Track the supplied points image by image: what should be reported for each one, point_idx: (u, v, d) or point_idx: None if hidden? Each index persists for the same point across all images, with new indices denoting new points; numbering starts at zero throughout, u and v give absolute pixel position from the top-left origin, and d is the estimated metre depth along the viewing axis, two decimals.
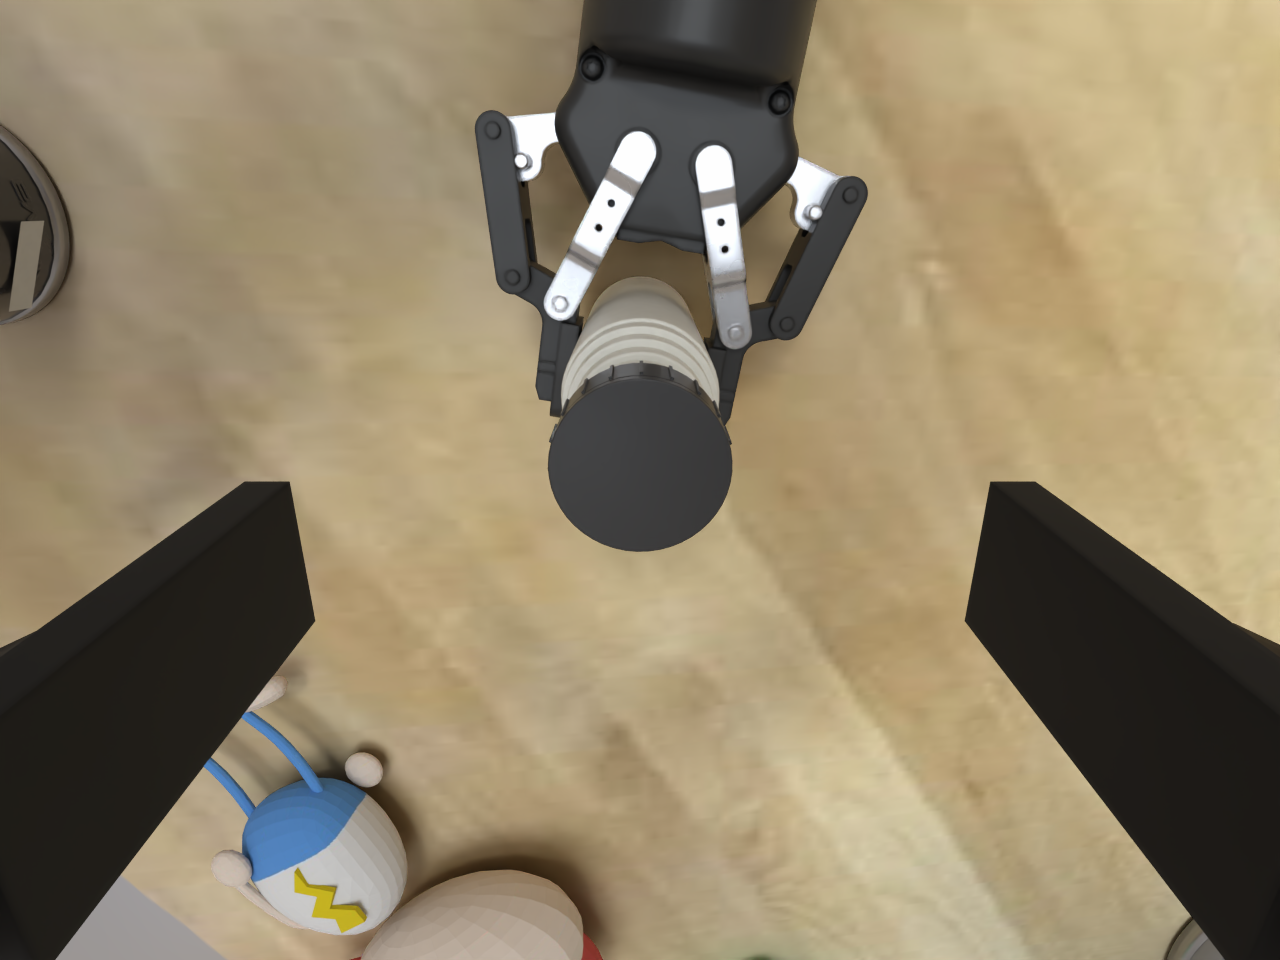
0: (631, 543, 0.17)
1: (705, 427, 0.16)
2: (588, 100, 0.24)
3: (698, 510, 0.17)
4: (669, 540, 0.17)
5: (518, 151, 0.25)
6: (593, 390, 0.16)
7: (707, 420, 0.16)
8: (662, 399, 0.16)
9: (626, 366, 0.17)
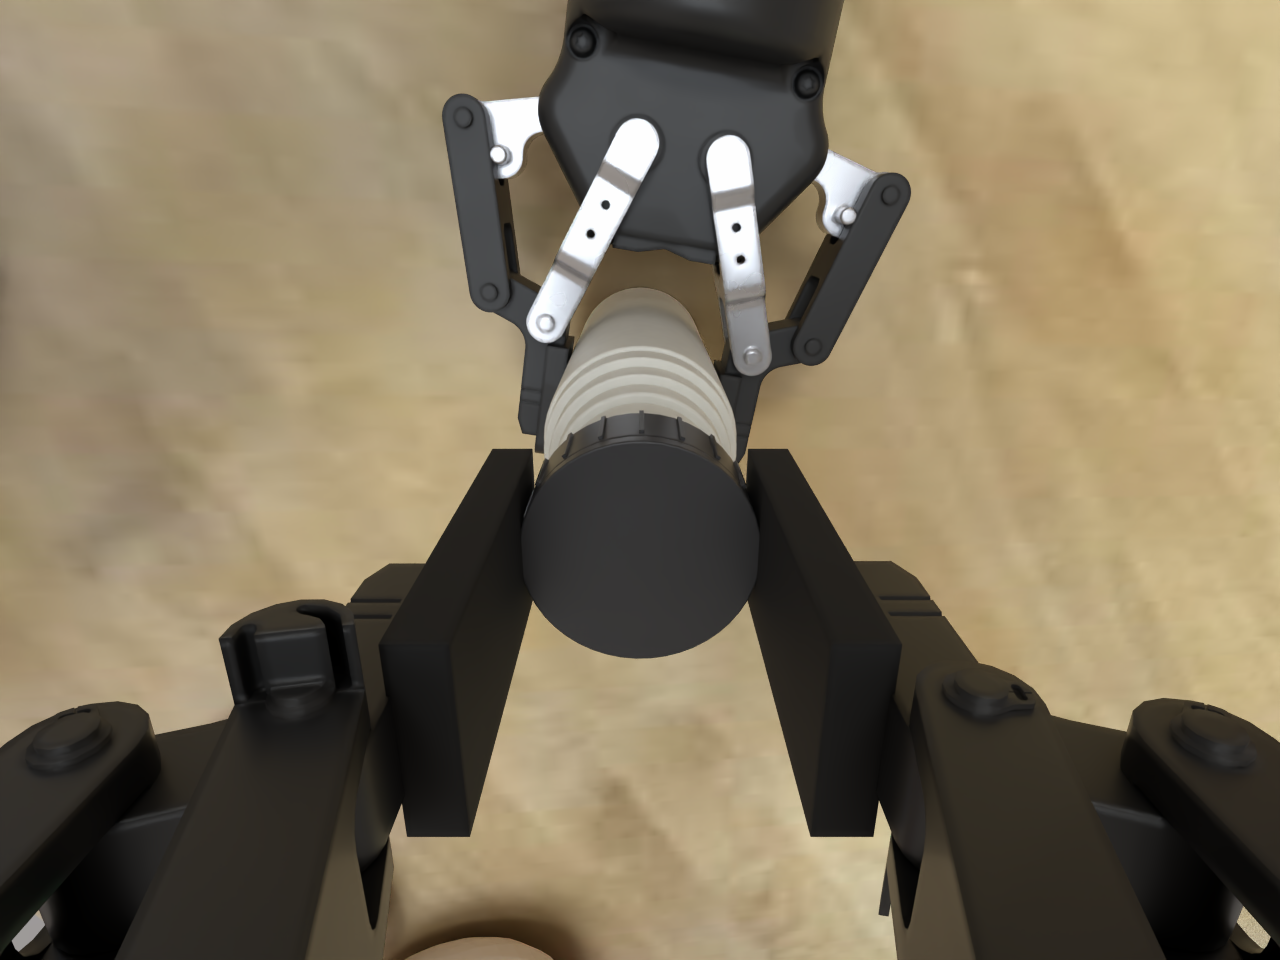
0: (628, 648, 0.13)
1: (726, 503, 0.12)
2: (578, 81, 0.20)
3: (716, 607, 0.13)
4: (678, 645, 0.13)
5: (495, 143, 0.21)
6: (577, 456, 0.12)
7: (729, 494, 0.12)
8: (669, 467, 0.12)
9: (622, 418, 0.13)
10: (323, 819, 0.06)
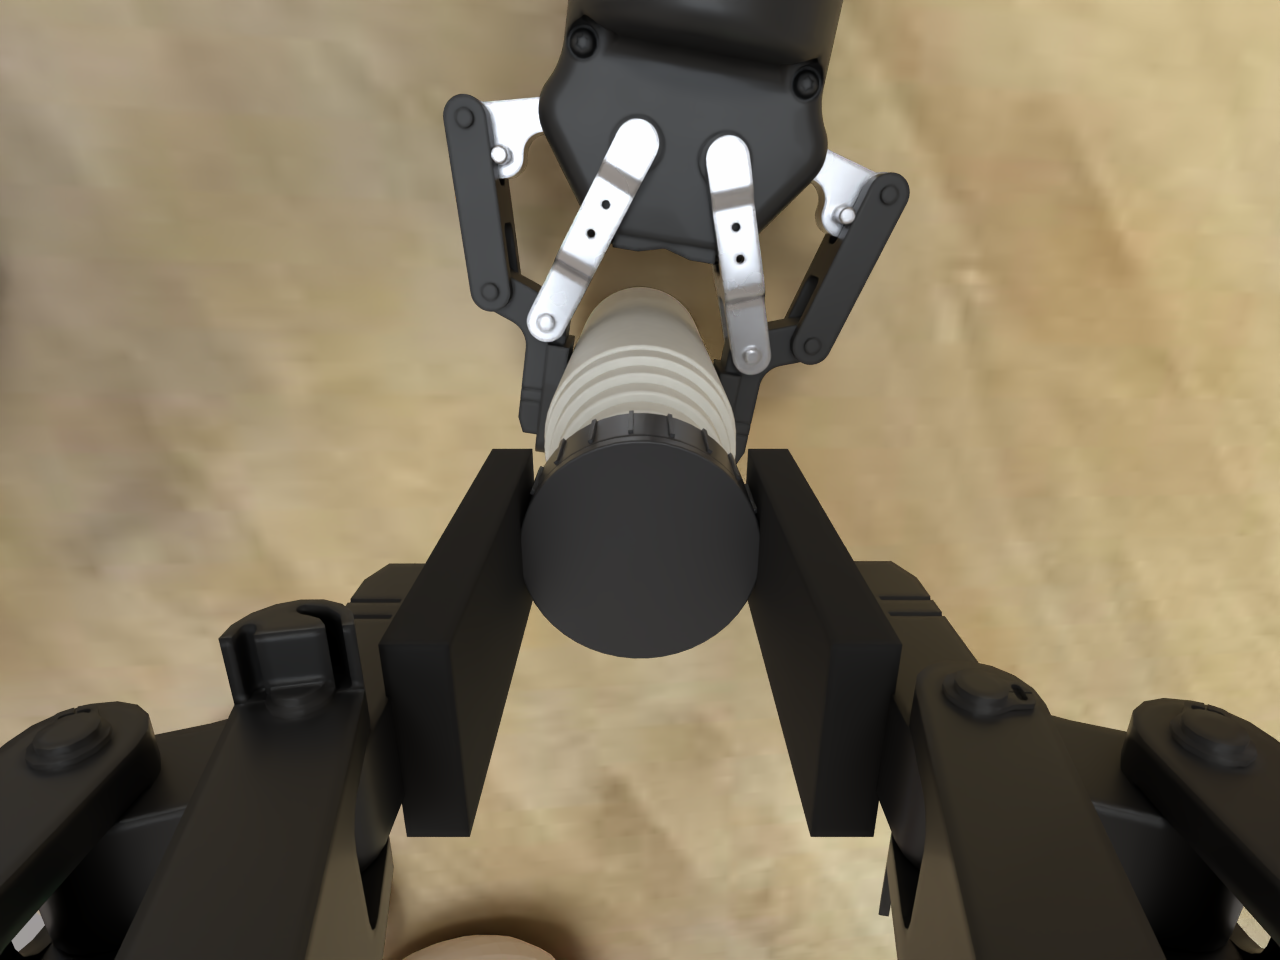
0: (742, 519, 0.12)
1: (547, 514, 0.12)
2: (578, 81, 0.20)
3: (655, 465, 0.12)
4: (715, 477, 0.12)
5: (496, 143, 0.21)
6: (579, 642, 0.13)
7: (537, 516, 0.12)
8: (544, 575, 0.13)
9: None
10: (323, 820, 0.06)
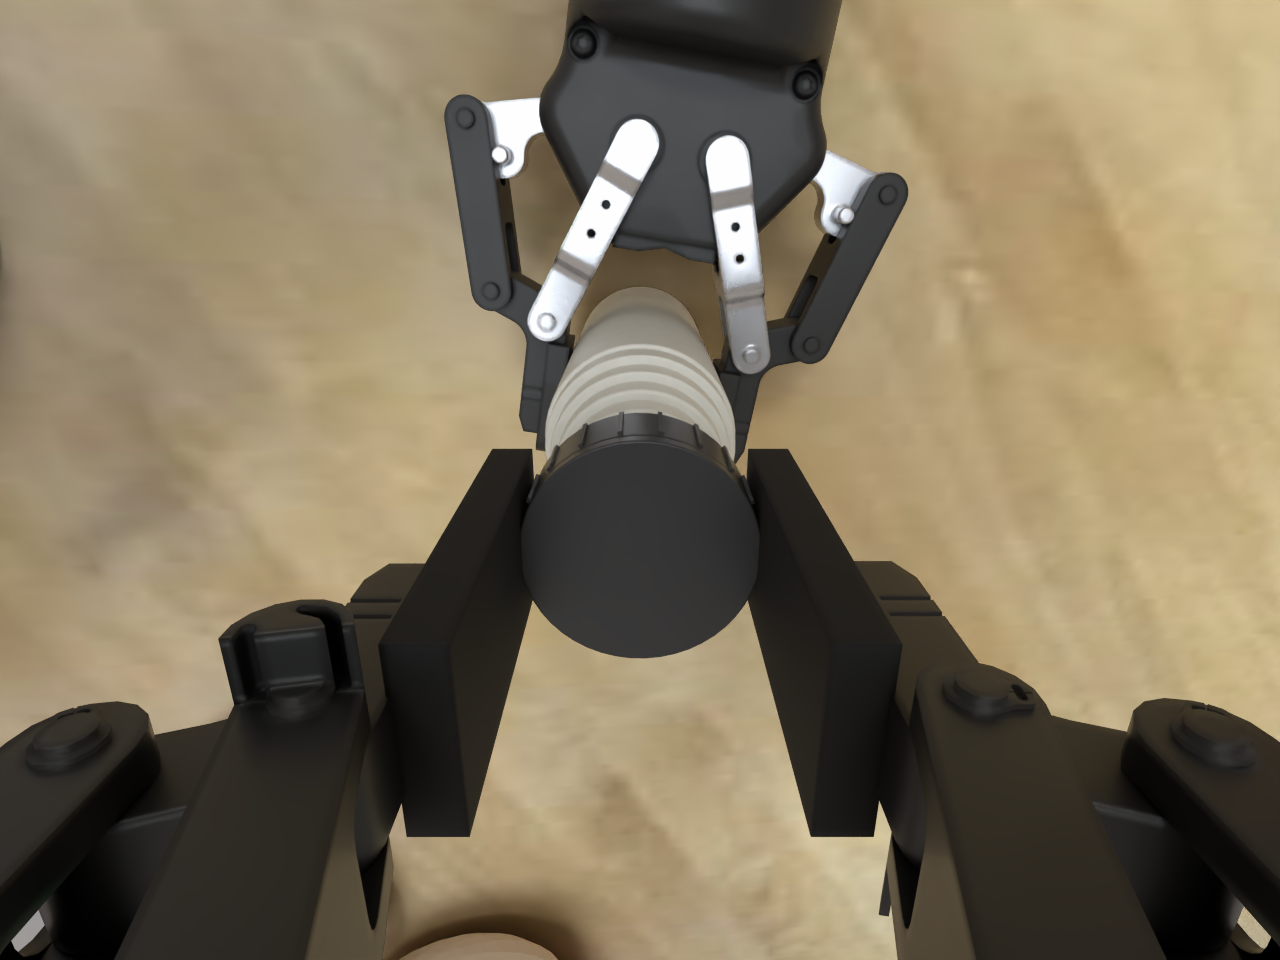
0: (553, 494, 0.12)
1: (643, 643, 0.13)
2: (578, 82, 0.20)
3: (549, 586, 0.13)
4: (530, 536, 0.13)
5: (496, 143, 0.21)
6: None
7: (649, 649, 0.13)
8: (702, 621, 0.13)
9: None
10: (323, 820, 0.06)
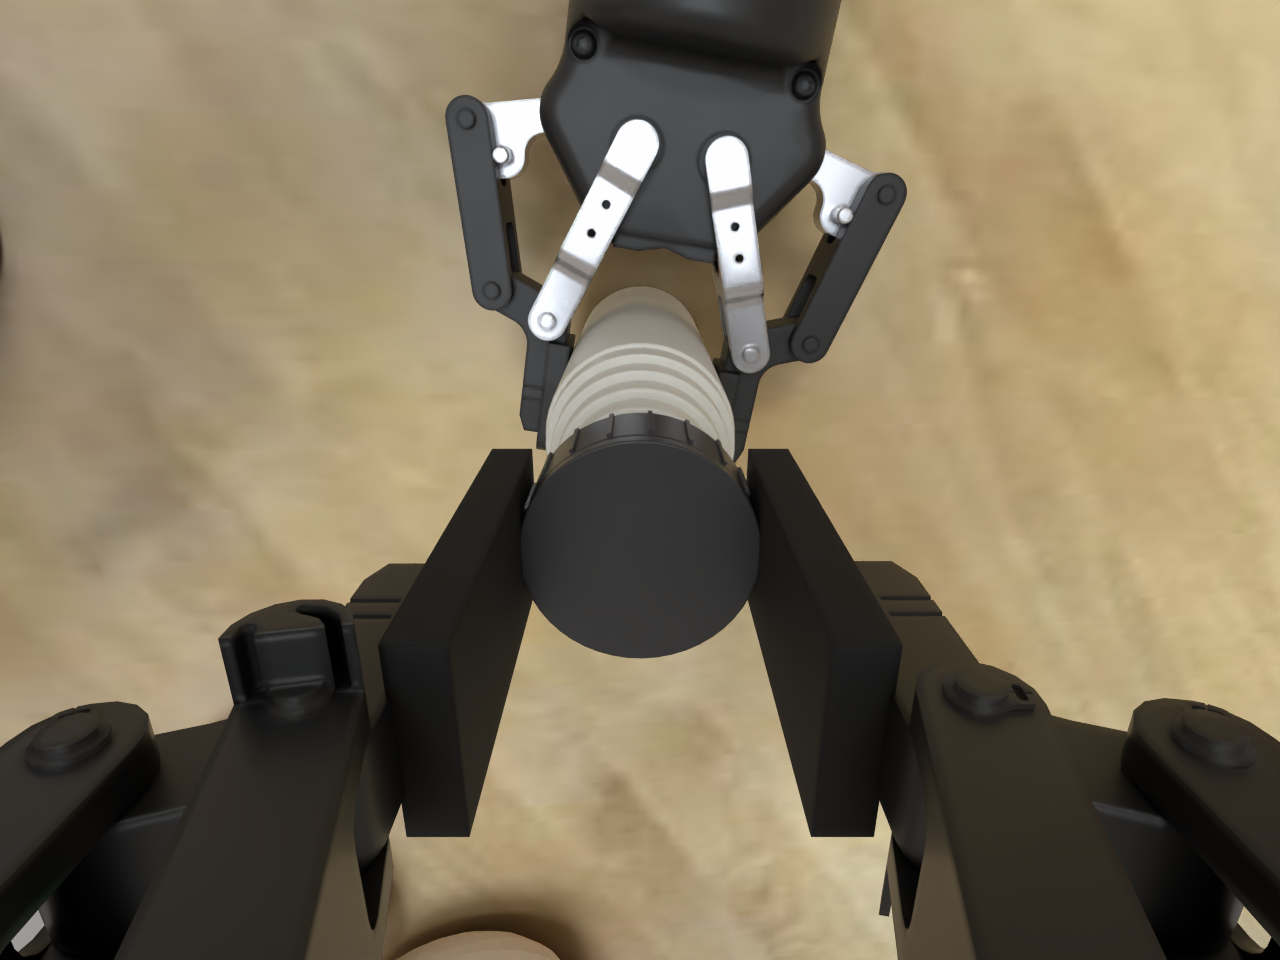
0: (621, 647, 0.13)
1: (730, 509, 0.12)
2: (579, 83, 0.20)
3: (711, 612, 0.13)
4: (671, 646, 0.13)
5: (497, 143, 0.22)
6: (585, 451, 0.12)
7: (734, 500, 0.12)
8: (676, 469, 0.12)
9: (630, 417, 0.13)
10: (323, 819, 0.06)
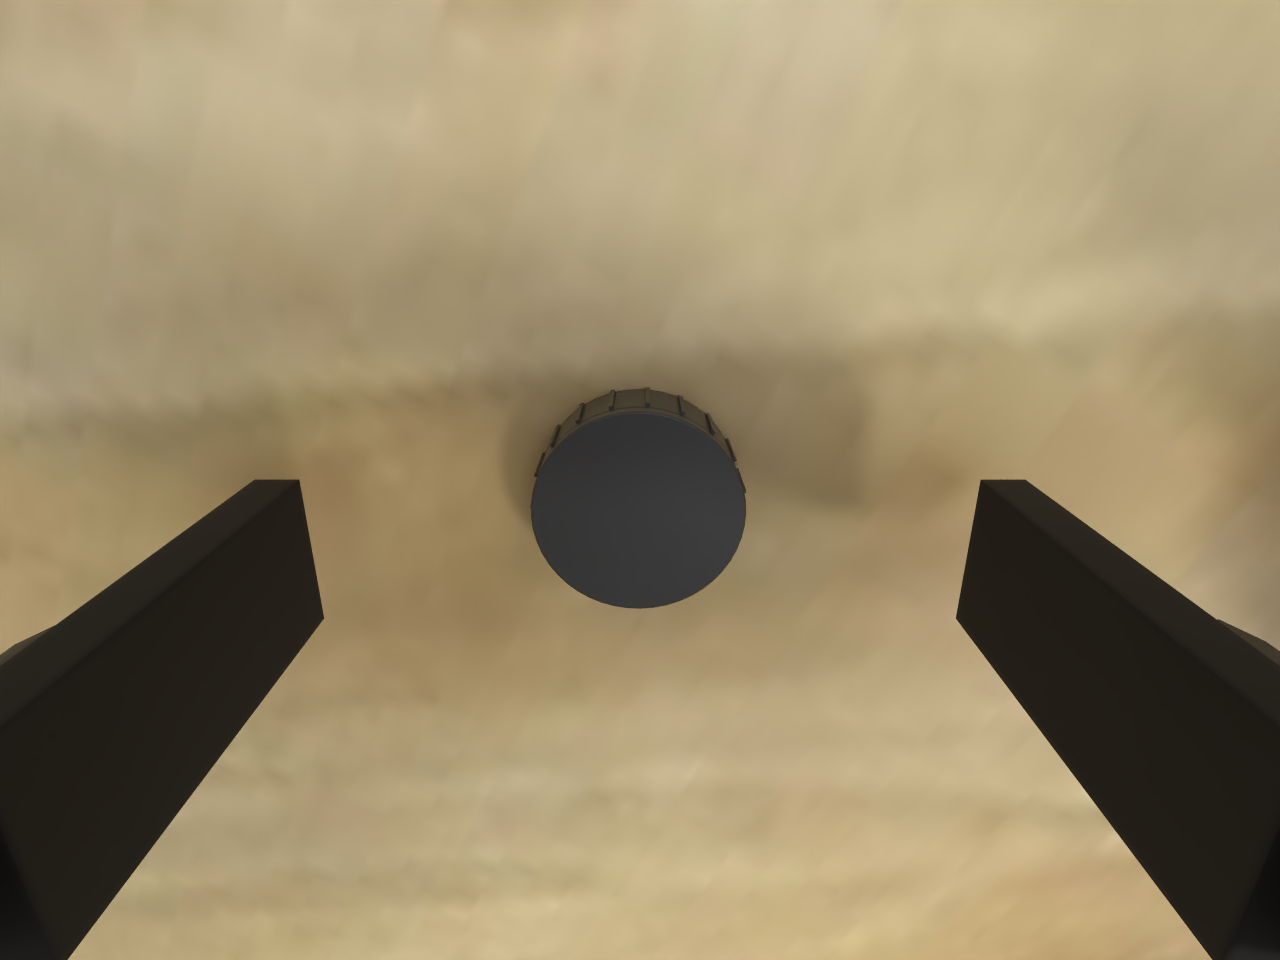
0: (621, 598, 0.15)
1: (718, 473, 0.14)
2: None
3: (702, 566, 0.15)
4: (666, 598, 0.15)
5: None
6: (590, 421, 0.14)
7: (721, 465, 0.14)
8: (670, 437, 0.14)
9: (629, 393, 0.15)
10: None
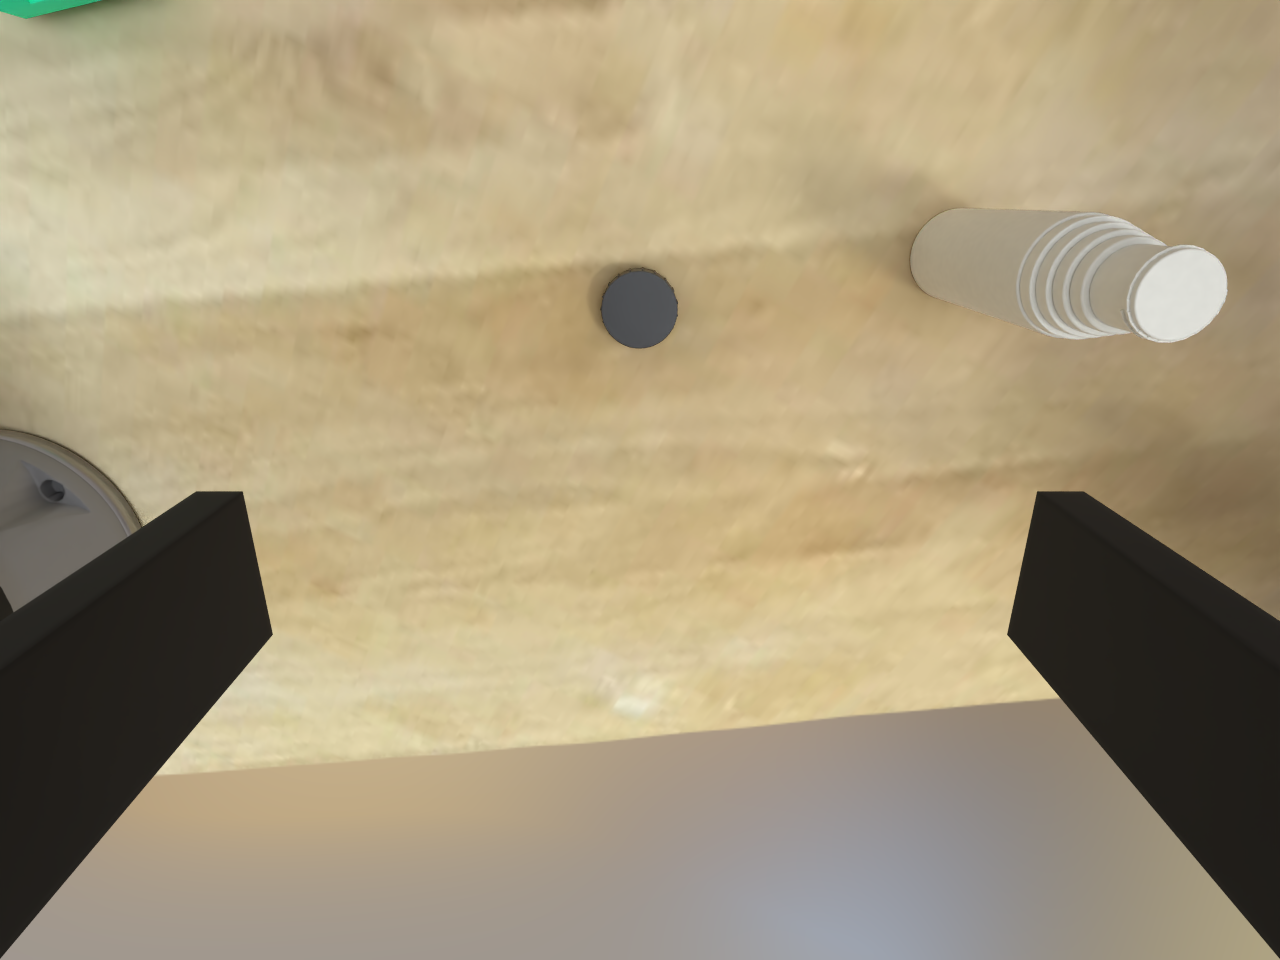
0: (633, 343, 0.41)
1: (667, 293, 0.40)
2: None
3: (662, 330, 0.41)
4: (649, 343, 0.41)
5: None
6: (622, 274, 0.40)
7: (668, 290, 0.40)
8: (650, 280, 0.40)
9: (636, 268, 0.41)
10: None
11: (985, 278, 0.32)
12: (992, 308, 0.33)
